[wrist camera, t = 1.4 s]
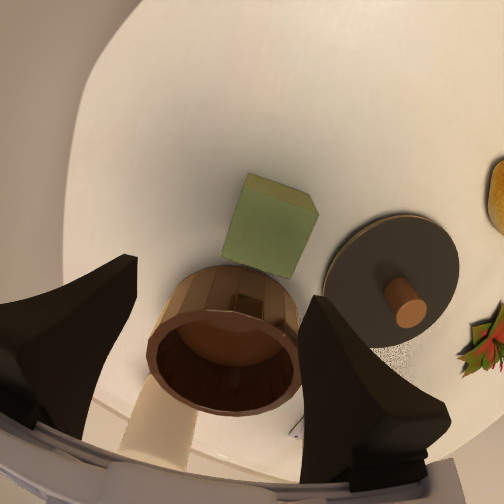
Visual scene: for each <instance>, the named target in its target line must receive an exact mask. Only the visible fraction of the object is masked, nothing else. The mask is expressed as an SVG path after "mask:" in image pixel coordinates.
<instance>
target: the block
mask: <svg viewBox="0 0 504 504" xmlns="http://www.w3.org/2000/svg"><path fill="white" fill-rule="evenodd" d="M318 216H319V213H318V211H317V209H316V207H315V205H314V203H313V201H312V199H311V197H310V195H308V194H306V193H303V192H301V191H298V190H295V189H292V188H290V187H287V186H284V185H282V184H279V183H276V182H273V181H270V180H268V179H265V178H262V177H259V176H256V175H253V174H250V173H249V174H248V176H247V179H246V182H245V184H244V187H243V190H242V193H241V196H240V199H239V202H238V205H237V207H236V210H235V213H234V216H233V219H232V222H231V225H230V228H229V231H228V234H227V237H226V240H225V243H224V246H223V249H222V252H221V255H220V256H221V257H223V258H226V259H229V260H232V261H235V262H238V263H241V264H244V265H247V266H250V267H253V268H256V269H259V270H262V271H265V272H269V273H272V274H275V275H278V276H281V277H284V278H287V279H290V278H291V276H292V274H293V272H294V269H295V267H296V265H297V263H298V261H299V259H300V256H301V254H302V252H303V250H304V248H305V245H306V243H307V241H308V239H309V236H310V234H311V232H312V230H313V227H314V225H315V223H316V221H317V218H318Z"/></svg>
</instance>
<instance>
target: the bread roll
mask: <svg viewBox="0 0 504 504" xmlns="http://www.w3.org/2000/svg"><path fill="white" fill-rule="evenodd" d="M488 213H489V216H490V219H491V221H492V224H493V226H494V227H495V228H496V229H497V230H498V231H499V232H500V233H501V234H502V235H503V236H504V160H502V161H501V162H500V163H499V164H498V165H497V166H496V167H495V168H494V170H493V173H492V178H491V184H490V192H489V199H488Z"/></svg>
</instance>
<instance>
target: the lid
mask: <svg viewBox="0 0 504 504" xmlns="http://www.w3.org/2000/svg"><path fill="white" fill-rule="evenodd" d="M458 278H459V258H458V253H457V250H456V247H455V244H454V242H453V241H452V239H451V237H450V236H449V235H448V233H447V232H446V231H445V230H444V229H443V228H442V227H440V226H439V225H438V224H436V223H434V222H433V221H431V220H429V219H426V218H424V217H419V216H414V215H398V216H393V217H388V218H385V219H382V220H379V221H377V222H375V223H373V224H371V225H369V226H367V227H365V228H364V229H362V230H361V231H359V232H358V233H357V234H356V235H354V236H353V237H352V238H351V239H350V240H349V241H348V242H347V243H346V244H345V245H344V246H343V247H342V248H341V250H340V251H339V252H338V254H337V255H336V257H335V258H334V260H333V262H332V263H331V265H330V267H329V270H328V272H327V275H326V278H325V282H324V287H323V297H327V298H328V299H329V300H330V301H331V302H332V303H333V305H334V306H335V307H336V309H337V310H338V311H339V312H340V314H341V315H342V316H343V317H344V319H345V320H346V321H347V323H348V324H349V325H350V326H351V328H352V329H353V330H354V331H355V332H356V334H357V335H358V336H359V337H360V338H361V339H362V340H363V342H364V343H365V344H366V345H367V346H368V347H369V348H385V347H391V346H395V345H398V344H401V343H404V342H406V341H409V340H411V339H413V338H415V337H416V336H418V335H419V334H421V333H423V332H424V331H425V330H426V329H428V328H429V327H430V326H431V325H432V324H433V323H435V322H436V320H437V319H438V318H439V317H440V316H441V315H442V313H443V312H444V311H445V309H446V308H447V306H448V305H449V303H450V301H451V299H452V297H453V295H454V292H455V290H456V287H457V283H458Z"/></svg>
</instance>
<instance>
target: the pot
mask: <svg viewBox="0 0 504 504" xmlns="http://www.w3.org/2000/svg"><path fill="white" fill-rule="evenodd" d="M299 328H300V320H299V316H298V312H297V308H296V306H295V303H294V301H293V300H292V298H291V296H290V295H289V294H288V292H287V291H286V290H285V289H284V288H283V287H282V286H281V285H280V284H279V283H278V282H276V281H275V280H273V279H272V278H270V277H268V276H267V275H265V274H263V273H260V272H258V271H255V270H253V269H249V268H245V267H239V266H215V267H210V268H205V269H203V270H200V271H197V272H195V273H193V274H191V275H189V276H188V277H187V278H185V279H184V280H183V281H182V282H181V283H180V284H179V285H178V286H177V287H176V288H175V290H174V291H173V293H172V294H171V296H170V297H169V299H168V301H167V303H166V305H165V307H164V309H163V311H162V313H161V315H160V317H159V319H158V321H157V323H156V325H155V327H154V329H153V331H152V333H151V335H150V337H149V340H148V345H147V351H146V359H147V362H148V366H149V369H150V372H151V374H152V375H153V377H154V378H155V379H156V381H157V382H158V384H159V385H160V386H161V387H162V389H164V390H165V391H166V392H167V393H168V394H170V395H171V396H172V397H173V398H175V399H176V400H178V401H180V402H181V403H183V404H185V405H187V406H189V407H192V408H194V409H196V410H199V411H203V412H207V413H210V414H214V415H220V416H232V417H241V416H251V415H258V414H261V413H264V412H267V411H270V410H273V409H276V408H278V407H279V406H281V405H282V404H284V403H285V402H287V401H288V400H290V399H291V398H292V397H293V396H294V394H295V393H296V392H297V390H298V389H299V387H300V386H301V385H302V381H301V374H300V367H299V359H298V330H299Z"/></svg>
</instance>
